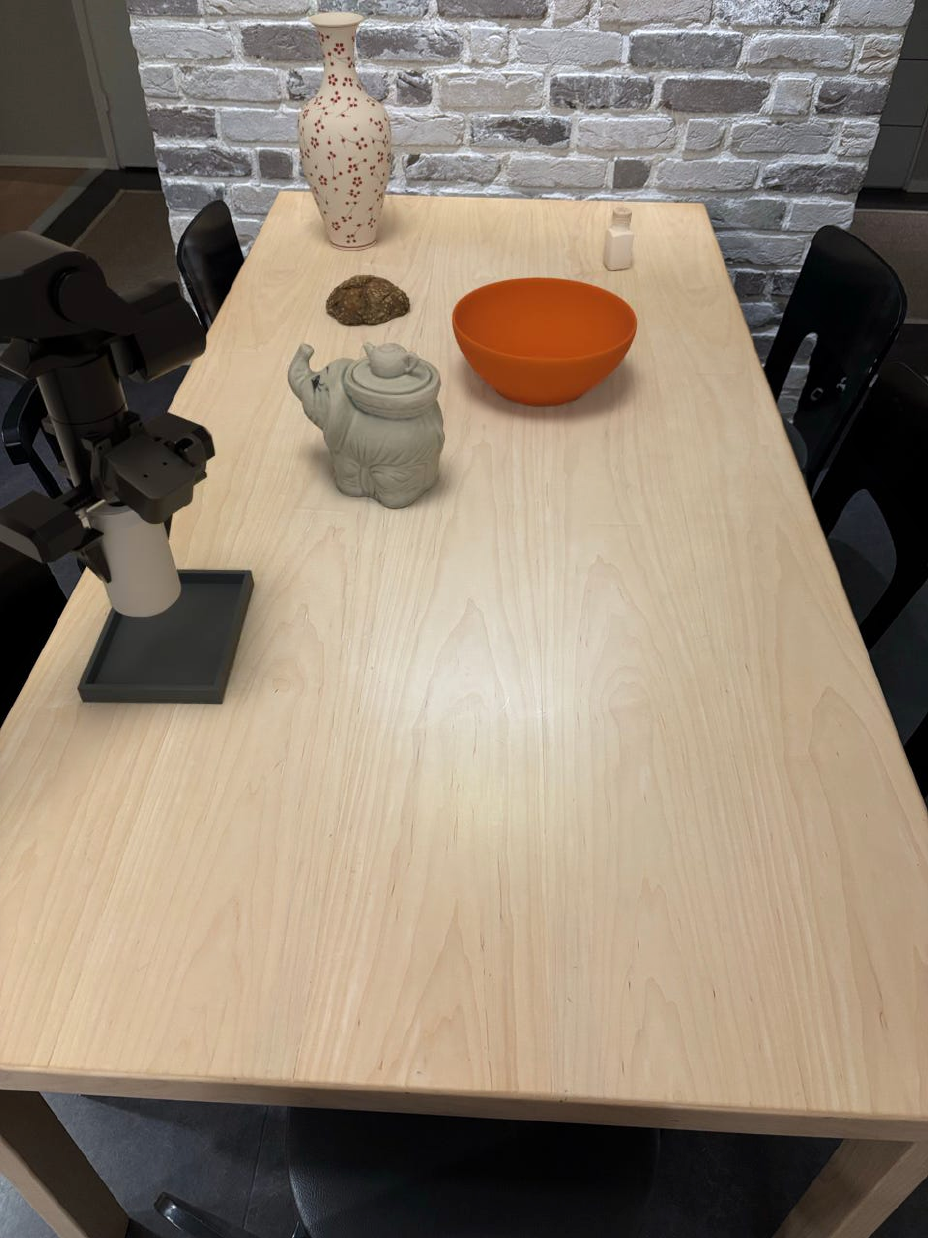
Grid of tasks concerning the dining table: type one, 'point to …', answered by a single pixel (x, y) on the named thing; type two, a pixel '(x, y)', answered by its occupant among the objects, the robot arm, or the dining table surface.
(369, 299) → the bread roll
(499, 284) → the bowl
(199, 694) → the rectangular tray
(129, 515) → the beverage can
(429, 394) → the teapot
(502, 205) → the dining table surface
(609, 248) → the pepper shaker
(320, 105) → the vase
